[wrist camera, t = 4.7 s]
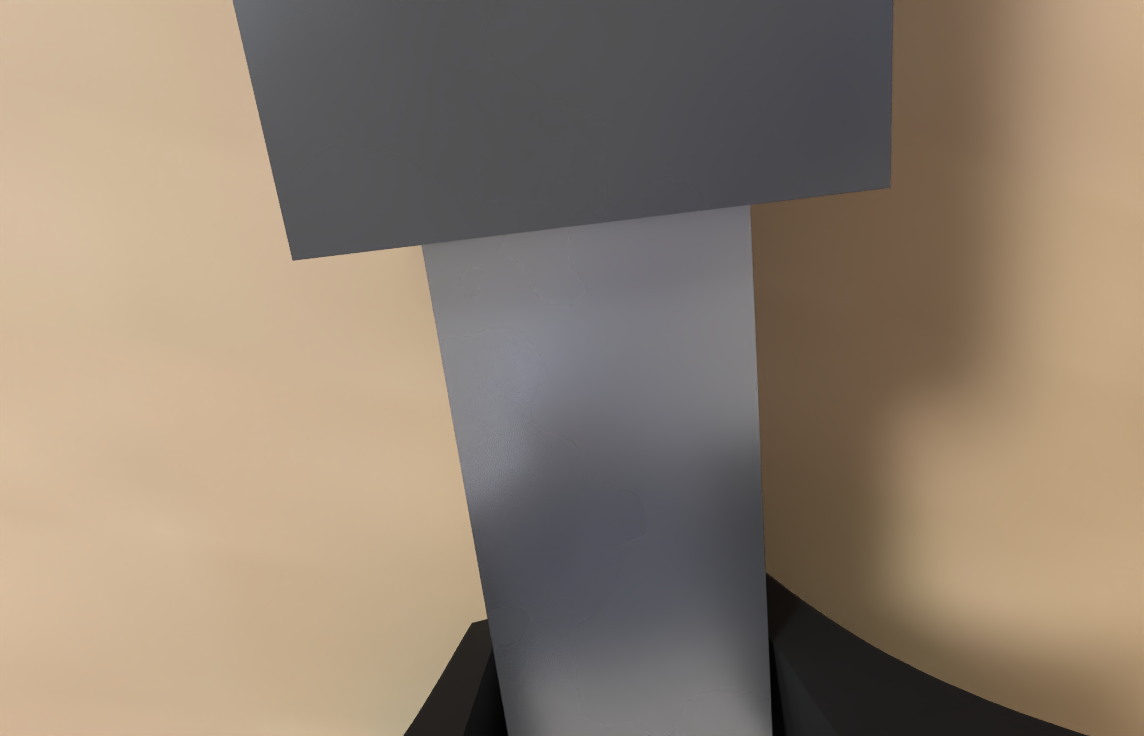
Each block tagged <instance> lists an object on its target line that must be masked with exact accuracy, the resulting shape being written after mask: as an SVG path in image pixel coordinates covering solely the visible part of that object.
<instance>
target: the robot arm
mask: <svg viewBox="0 0 1144 736" xmlns="http://www.w3.org/2000/svg"><path fill="white" fill-rule="evenodd" d="M766 595H767V619H768V643H769V667H770V691H771V715H772V736H1088V735H1084V734H1081V733H1078V732H1075V731H1072V730H1069V729H1066V728H1063V727H1060V726H1057V725H1054V724H1051V723H1048V722H1045V721H1042V720H1039V719H1037V718H1034V717H1031V716H1028V715H1025V714H1022V713H1019V712H1017V711H1014V710H1011V709H1009V708H1006V707H1003V706H1001V705H998V704H996V703H993V702H990V701H988V700H985V699H983V698H981V697H978V696H976V695H974V694H971V693H969V692H967V691H964V690H962V689H959V688H957V687H955V686H952V685H950V684H948V683H945V682H943V681H941V680H939V679H937V678H934V677H932V676H930V675H928V674H926V673H924V672H922V671H920V670H918V669H916V668H914V667H912V666H910V665H908V664H906V663H904V662H902V661H900V660H898V659H896V658H894V657H892V656H890V655H888V654H886V653H885V652H883V651H881V650H879V649H878V648H876V647H874V646H872V645H871V644H869V643H867V642H866V641H864V640H862V639H861V638H859V637H857V636H856V635H854V634H853V633H851V632H849V631H848V630H846V629H844V628H843V627H841V626H840V625H838V624H837V623H835V622H834V621H832V620H831V619H829V618H828V617H826V616H825V615H823V614H822V613H820V612H819V611H817V610H816V609H815V608H813V607H812V606H810V605H809V604H807V603H806V602H805V601H803V600H802V599H800V598H799V597H798V596H796V595H795V594H793V593H792V592H791V591H789V590H788V589H787V588H785V587H784V586H783V585H782V584H780V583H779V582H778V581H776V580H775V579H774V578H773V577H771V576H770V575H769V574H767V573H766ZM404 736H508V731H507V725H506V720H505V714H504V708H503V703H502V697H501V691H500V686H499V680H498V674H497V669H496V663H495V657H494V652H493V646H492V640H491V635H490V629H489V623H488V619H486V620H482V621H478V622H474V623H472V624H471V626H470V627H469V629H468V630H467V632H466V634H465V635H464V637H463V639H462V640H461V642H460V644H459V646H458V647H457V649H456V651H455V653H454V654H453V656H452V658H451V660H450V661H449V663H448V665H447V667H446V668H445V670H444V672H443V673H442V675H441V677H440V679H439V680H438V682H437V684H436V685H435V687H434V688H433V690H432V692H431V693H430V695H429V697H428V698H427V700H426V702H425V703H424V705H423V707H422V708H421V710H420V711H419V713H418V715H417V716H416V718H415V719H414V721H413V722H412V724H411V725H410V727H409V728H408V730H407V731H406V733H405V734H404Z"/></svg>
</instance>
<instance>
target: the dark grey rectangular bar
mask: <svg viewBox="0 0 1144 736" xmlns="http://www.w3.org/2000/svg"><path fill="white" fill-rule="evenodd" d="M233 4H234V8H235V13H236V17H237V21H238V26H239V30H240V34H241V39H242V43H243V47H244V52H245V56H246V60H247V65H248V69H249V73H250V78H251V82H252V86H253V91H254V95H255V99H256V104H257V108H258V112H259V117H260V121H261V125H262V130H263V134H264V138H265V143H266V147H267V151H268V156H269V160H270V164H271V169H272V173H273V177H274V182H275V186H276V190H277V195H278V199H279V203H280V208H281V212H282V216H283V221H284V225H285V229H286V234H287V238H288V242H289V247H290V251H291V255H292V260H302V259H310V258H318V257H326V256H334V255H343V254H351V253H359V252H367V251H375V250H384V249H392V248H400V247H408V246H416V245H425V244H433V243H441V242H449V241H457V240H465V239H474V238H482V237H490V236H498V235H506V234H515V233H523V232H531V231H539V230H547V229H556V228H564V227H572V226H580V225H588V224H596V223H605V222H613V221H621V220H629V219H637V218H646V217H654V216H662V215H670V214H678V213H687V212H695V211H703V210H711V209H719V208H728V207H736V206H744V205H752V204H760V203H768V202H777V201H785V200H793V199H801V198H809V197H818V196H826V195H834V194H842V193H850V192H859V191H867V190H875V189H883V188H890V181H891V111H892V41H893V0H233Z"/></svg>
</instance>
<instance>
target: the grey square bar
mask: <svg viewBox="0 0 1144 736" xmlns="http://www.w3.org/2000/svg"><path fill="white" fill-rule="evenodd" d="M422 249H423V255H424V261H425V266H426V272H427V278H428V283H429V289H430V295H431V300H432V306H433V312H434V317H435V323H436V329H437V334H438V340H439V346H440V351H441V357H442V363H443V368H444V374H445V380H446V385H447V391H448V397H449V402H450V408H451V414H452V419H453V425H454V431H455V436H456V442H457V448H458V453H459V459H460V465H461V470H462V476H463V482H464V487H465V493H466V499H467V504H468V510H469V516H470V521H471V527H472V533H473V538H474V544H475V550H476V555H477V561H478V567H479V572H480V578H481V584H482V589H483V595H484V601H485V606H486V612H487V618H488V623H489V629H490V635H491V640H492V646H493V652H494V657H495V663H496V669H497V674H498V680H499V686H500V691H501V697H502V703H503V708H504V714H505V720H506V725H507V731H508V736H772V715H771V691H770V667H769V643H768V619H767V595H766V571H765V548H764V524H763V500H762V476H761V452H760V428H759V404H758V380H757V357H756V333H755V309H754V285H753V261H752V237H751V213H750V205H744V206H736V207H728V208H719V209H711V210H703V211H695V212H687V213H678V214H670V215H662V216H654V217H646V218H637V219H629V220H621V221H613V222H605V223H596V224H588V225H580V226H572V227H564V228H556V229H547V230H539V231H531V232H523V233H515V234H506V235H498V236H490V237H482V238H474V239H465V240H457V241H449V242H441V243H433V244H425V245H422Z"/></svg>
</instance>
